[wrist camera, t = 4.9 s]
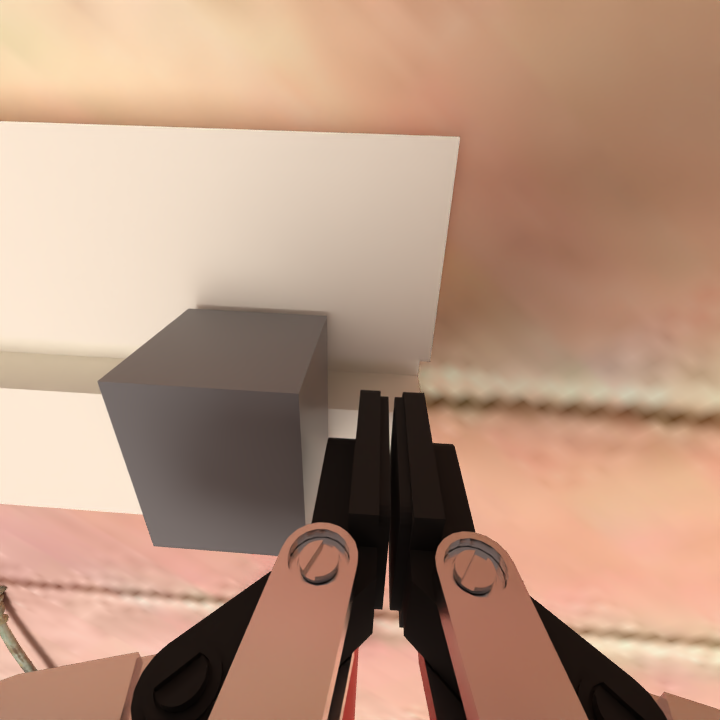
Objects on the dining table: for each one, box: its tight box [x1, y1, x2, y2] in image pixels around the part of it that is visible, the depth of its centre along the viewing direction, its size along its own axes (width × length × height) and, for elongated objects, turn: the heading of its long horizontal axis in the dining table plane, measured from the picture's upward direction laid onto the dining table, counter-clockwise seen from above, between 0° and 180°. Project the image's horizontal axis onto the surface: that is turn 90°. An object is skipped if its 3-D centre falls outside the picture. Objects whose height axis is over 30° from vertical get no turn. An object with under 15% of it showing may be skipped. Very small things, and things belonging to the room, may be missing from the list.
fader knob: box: [97, 308, 328, 556], centre depth 12 cm, size 4×5×6 cm
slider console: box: [0, 121, 460, 514], centre depth 14 cm, size 26×14×4 cm, turn 88°
